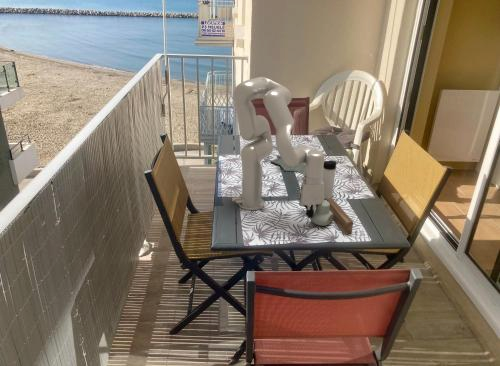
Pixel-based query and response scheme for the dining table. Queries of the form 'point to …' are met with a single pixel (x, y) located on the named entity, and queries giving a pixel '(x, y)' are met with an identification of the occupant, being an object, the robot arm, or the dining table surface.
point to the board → (340, 217)
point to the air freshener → (322, 214)
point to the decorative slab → (280, 163)
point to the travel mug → (328, 178)
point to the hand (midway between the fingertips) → (309, 216)
